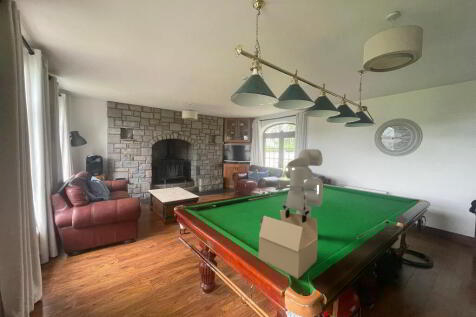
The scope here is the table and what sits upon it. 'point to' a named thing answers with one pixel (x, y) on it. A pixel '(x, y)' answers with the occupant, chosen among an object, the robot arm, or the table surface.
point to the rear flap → (296, 219)
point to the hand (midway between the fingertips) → (295, 219)
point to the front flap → (281, 233)
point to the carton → (289, 255)
